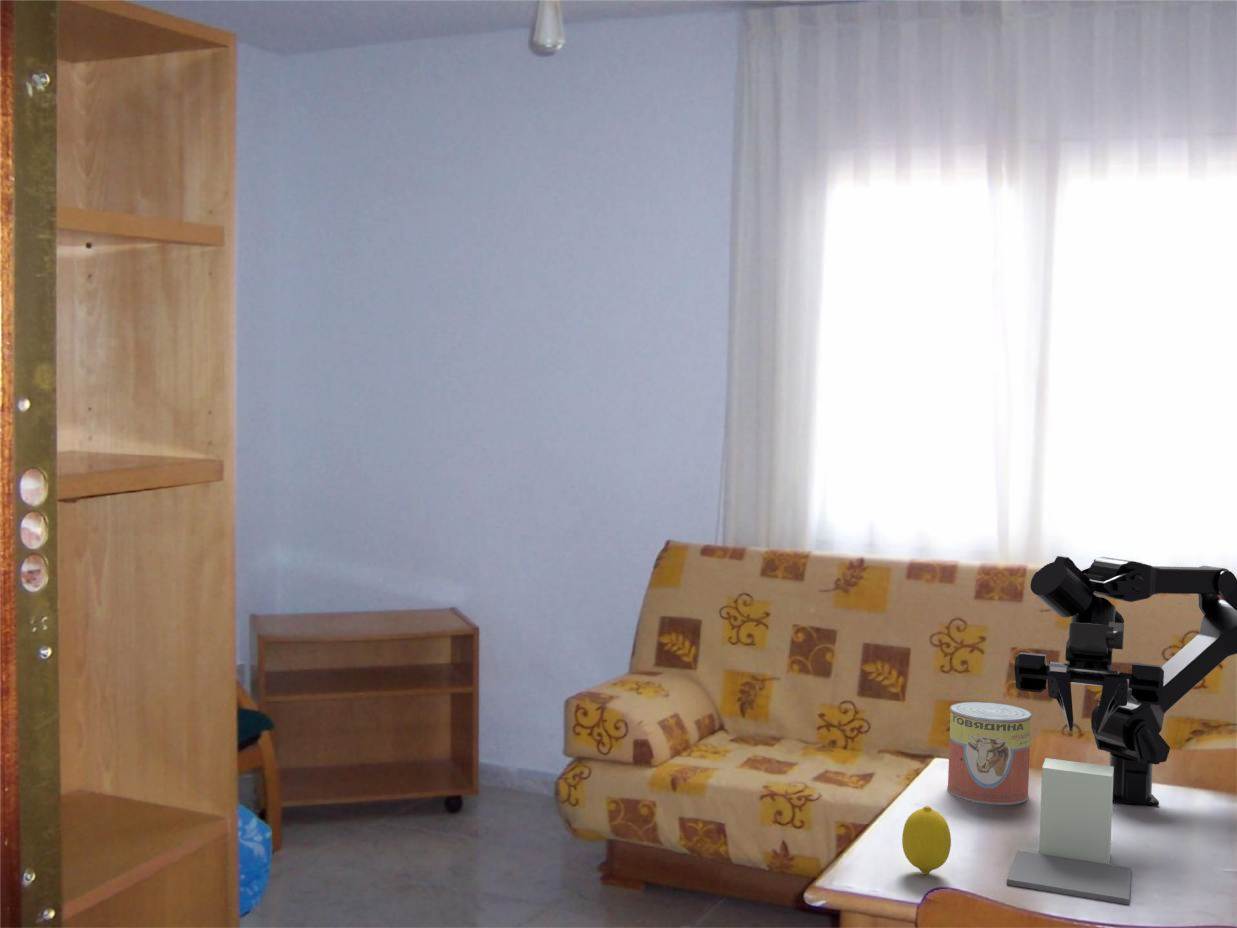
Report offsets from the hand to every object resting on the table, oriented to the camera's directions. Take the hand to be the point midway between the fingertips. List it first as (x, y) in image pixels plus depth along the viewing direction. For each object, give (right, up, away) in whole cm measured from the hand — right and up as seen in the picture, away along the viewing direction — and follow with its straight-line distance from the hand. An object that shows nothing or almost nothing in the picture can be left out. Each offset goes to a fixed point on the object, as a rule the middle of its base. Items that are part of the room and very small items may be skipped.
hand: (1083, 731), depth 163 cm
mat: (-8, -13, -18) cm, 24 cm away
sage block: (-5, -13, -9) cm, 17 cm away
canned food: (-8, -13, +16) cm, 22 cm away
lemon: (-25, -13, -17) cm, 33 cm away
